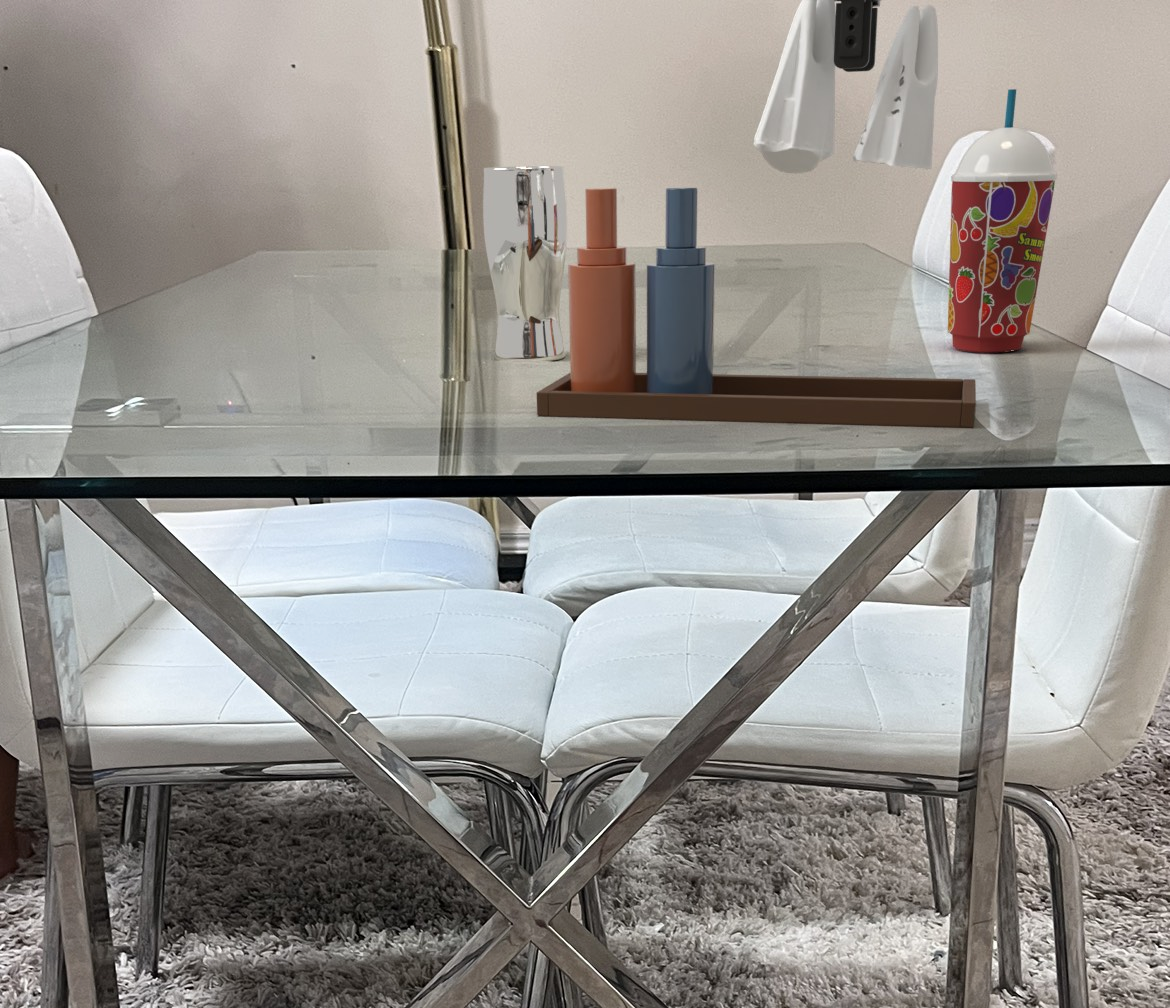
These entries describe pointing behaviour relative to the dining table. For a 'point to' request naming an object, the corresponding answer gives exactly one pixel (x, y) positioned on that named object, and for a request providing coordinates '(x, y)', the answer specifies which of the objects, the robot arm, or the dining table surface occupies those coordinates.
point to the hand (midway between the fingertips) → (854, 68)
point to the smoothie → (998, 237)
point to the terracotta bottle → (602, 303)
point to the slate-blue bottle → (680, 304)
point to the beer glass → (526, 258)
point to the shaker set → (807, 95)
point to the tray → (780, 401)
